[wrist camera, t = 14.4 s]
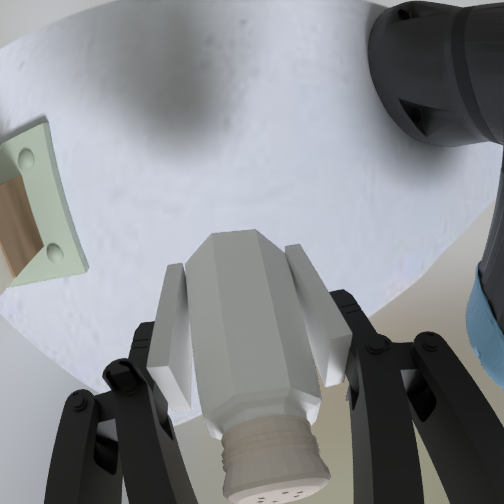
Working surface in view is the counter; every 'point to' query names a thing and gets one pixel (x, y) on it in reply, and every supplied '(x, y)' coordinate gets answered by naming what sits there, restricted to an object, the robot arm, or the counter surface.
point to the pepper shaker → (254, 368)
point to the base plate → (43, 206)
